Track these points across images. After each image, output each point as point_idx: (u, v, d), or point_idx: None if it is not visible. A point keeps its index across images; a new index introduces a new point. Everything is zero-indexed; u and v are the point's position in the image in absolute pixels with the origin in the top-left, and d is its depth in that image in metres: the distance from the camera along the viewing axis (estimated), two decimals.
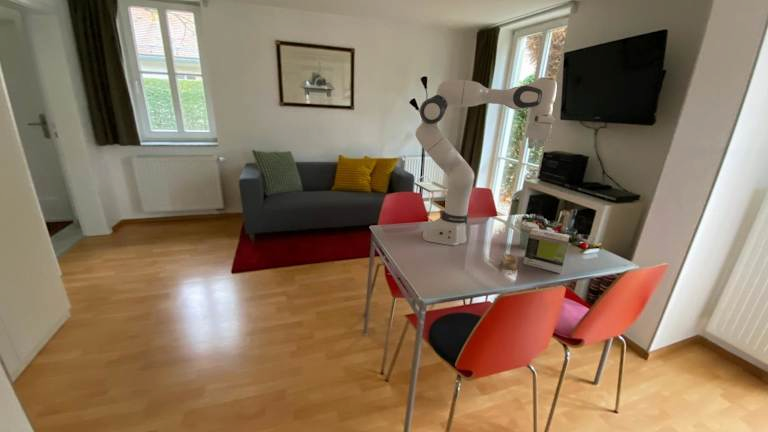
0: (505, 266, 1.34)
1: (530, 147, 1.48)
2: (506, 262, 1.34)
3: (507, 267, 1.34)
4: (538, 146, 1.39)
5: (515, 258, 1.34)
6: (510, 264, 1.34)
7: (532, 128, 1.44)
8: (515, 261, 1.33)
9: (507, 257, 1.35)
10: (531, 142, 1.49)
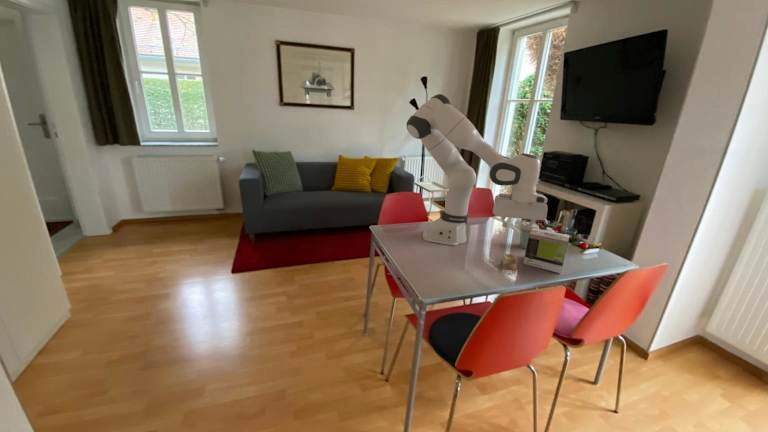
0: (505, 266, 1.34)
1: None
2: (506, 262, 1.34)
3: (507, 267, 1.34)
4: None
5: (515, 258, 1.34)
6: (510, 264, 1.34)
7: (515, 207, 1.27)
8: (515, 261, 1.33)
9: (507, 257, 1.35)
10: (503, 220, 1.31)
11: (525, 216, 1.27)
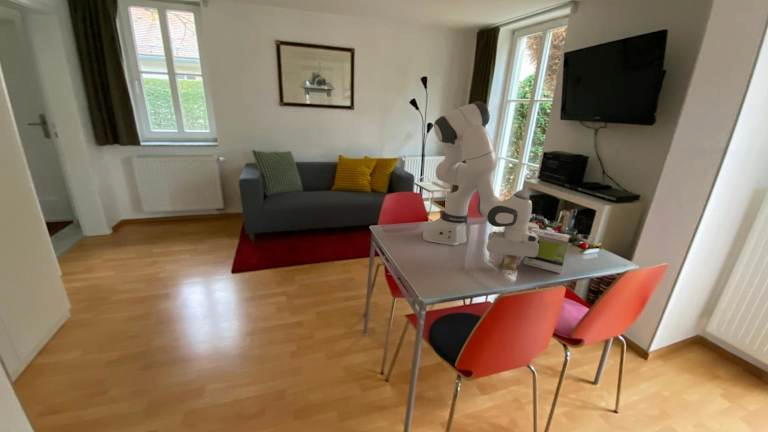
0: (505, 266, 1.34)
1: None
2: (506, 262, 1.34)
3: (507, 267, 1.34)
4: None
5: (515, 258, 1.34)
6: (510, 264, 1.34)
7: (508, 244, 1.32)
8: (515, 261, 1.33)
9: (507, 256, 1.35)
10: (500, 256, 1.36)
11: (517, 253, 1.33)
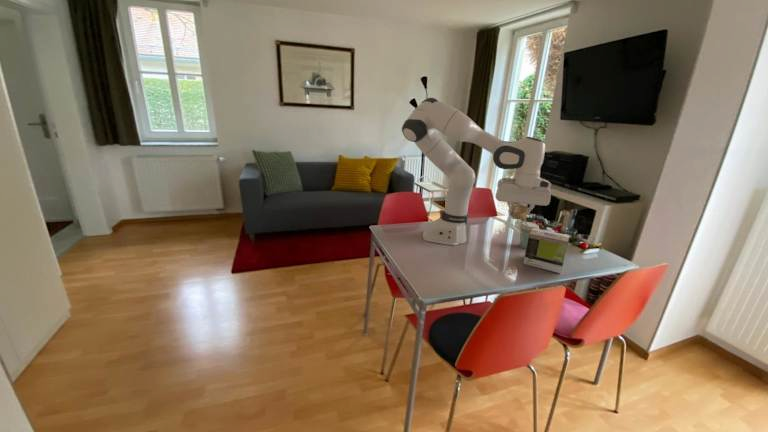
0: (515, 215, 1.27)
1: None
2: (516, 211, 1.26)
3: (517, 216, 1.27)
4: None
5: (525, 207, 1.27)
6: (520, 213, 1.27)
7: (518, 192, 1.25)
8: (525, 210, 1.26)
9: (517, 206, 1.28)
10: None
11: (528, 201, 1.25)
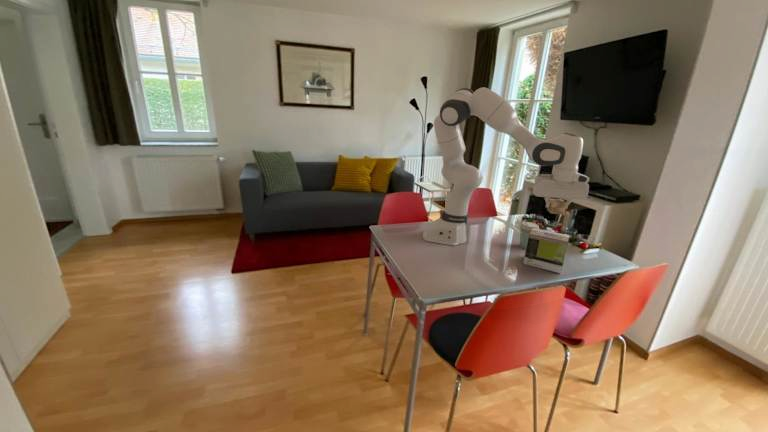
0: (553, 210, 1.30)
1: None
2: (554, 205, 1.30)
3: (555, 211, 1.30)
4: None
5: (563, 201, 1.30)
6: (558, 207, 1.30)
7: (556, 187, 1.28)
8: (564, 204, 1.29)
9: (555, 200, 1.31)
10: (547, 200, 1.32)
11: (566, 196, 1.28)
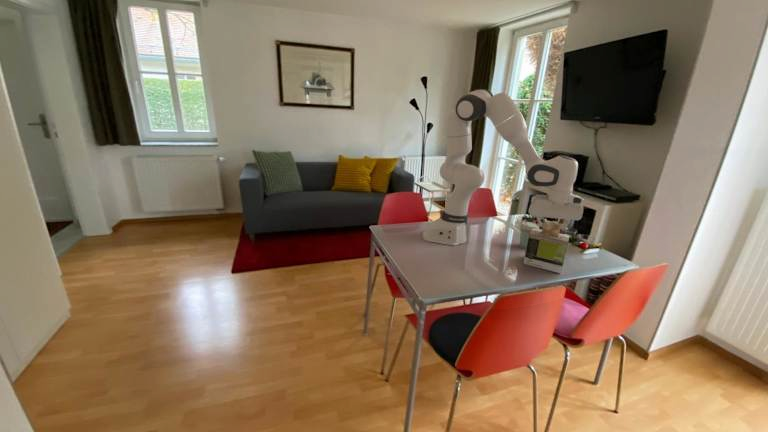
0: (548, 232, 1.33)
1: None
2: (549, 228, 1.33)
3: (550, 233, 1.33)
4: None
5: (558, 224, 1.33)
6: (553, 230, 1.33)
7: (551, 207, 1.31)
8: (558, 227, 1.32)
9: (549, 223, 1.34)
10: (539, 220, 1.35)
11: (561, 216, 1.31)
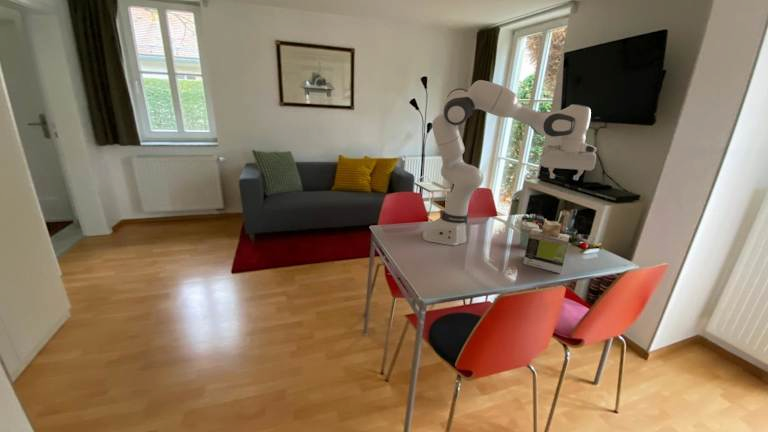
0: (548, 232, 1.33)
1: None
2: (549, 228, 1.33)
3: (550, 233, 1.33)
4: None
5: (558, 224, 1.33)
6: (553, 230, 1.33)
7: (564, 157, 1.32)
8: (558, 227, 1.32)
9: (550, 223, 1.34)
10: None
11: (573, 166, 1.32)
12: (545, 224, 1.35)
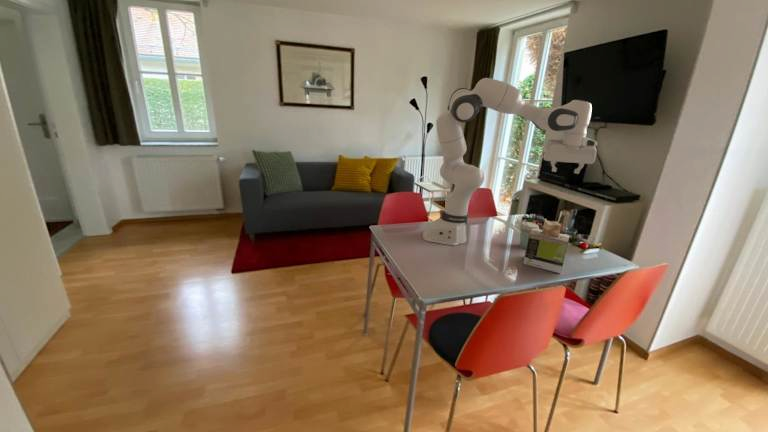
0: (548, 232, 1.33)
1: None
2: (549, 228, 1.33)
3: (550, 233, 1.33)
4: None
5: (558, 224, 1.33)
6: (553, 230, 1.33)
7: (566, 151, 1.36)
8: (558, 227, 1.32)
9: (550, 223, 1.34)
10: None
11: (575, 160, 1.37)
12: (545, 224, 1.35)
